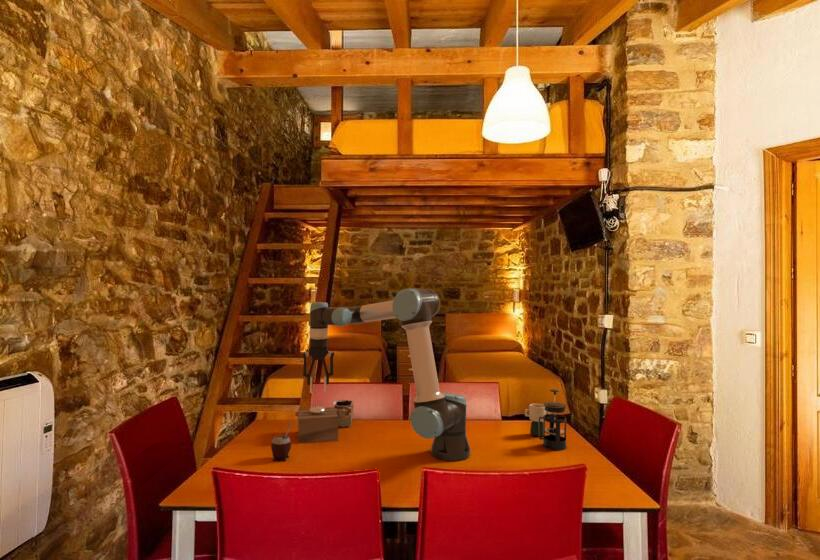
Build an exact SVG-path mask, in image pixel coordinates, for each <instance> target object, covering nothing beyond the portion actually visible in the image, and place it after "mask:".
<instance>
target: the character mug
mask: <svg viewBox="0 0 820 560" xmlns="http://www.w3.org/2000/svg"><path fill="white" fill-rule="evenodd" d="M543 404H544V403H531V404H530V403H529V408H525V409H524V417H528V418H529V420H530V421H531V423H530V430H529V433H530V434H531V435H533V436H535V437H536V436H537V437H539V417H543V416H544V415H546V414H551V412H548V411H546V410H545V406H544V405H543ZM548 419H550V417H548ZM541 436H542V437H543V419H540V437H541Z"/></svg>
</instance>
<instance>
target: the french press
mask: <svg viewBox="0 0 820 560" xmlns="http://www.w3.org/2000/svg"><path fill="white" fill-rule="evenodd" d="M549 392H552V393H553V395H554V399H553V400H554V402H551V401H549V402H544V403H542V404H543V405H544V406H545V410H546V411H548V412H550V414H548V412H547V413H546V415H544V416H543V417H539V436H538V439H539V440H541V441H543V443H542V446H543V448H545V449H548V450H551V451H552V450H553V451H564V450H566V449H567V448H568V446H567V417H566V416H564V415H562V413H564V412H565V410H566V408H567V404H565V403H560V402H556V396H557V393H560V392H561V390H560V389H555V388H554V389H549ZM559 413H561V414H559ZM548 417H549V418H548ZM540 419H543V435H542V437H541V436H540ZM546 423H549V427H546ZM561 424H564V425H563V426H564V427H563V428H564V429H562V428H561ZM546 434H547V435H546ZM563 435H564V436H563Z"/></svg>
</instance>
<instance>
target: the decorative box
mask: <svg viewBox="0 0 820 560" xmlns="http://www.w3.org/2000/svg"><path fill="white" fill-rule="evenodd" d="M332 405H333V407H335V409H336V412H337V415H338V428H339V427H340V428H345V427H351V426H352V422H353V419H354V407H355V406H354V401H353V400H351V399H350V400H349V399H338V400H334V401H333V403H332Z"/></svg>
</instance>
